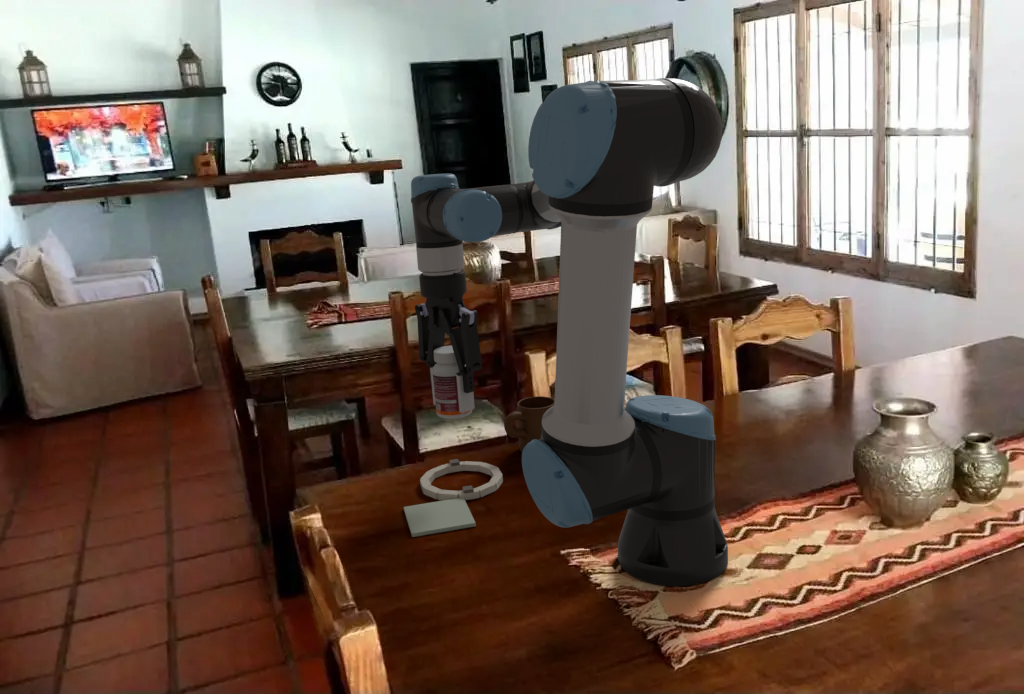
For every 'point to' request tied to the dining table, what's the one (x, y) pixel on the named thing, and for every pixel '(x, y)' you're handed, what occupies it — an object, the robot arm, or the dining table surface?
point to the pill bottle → (446, 384)
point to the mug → (528, 419)
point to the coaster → (438, 517)
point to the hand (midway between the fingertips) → (453, 406)
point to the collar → (467, 491)
